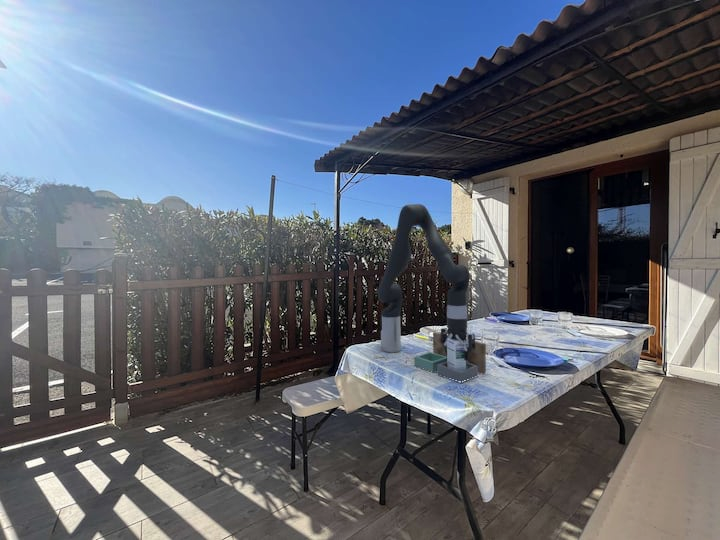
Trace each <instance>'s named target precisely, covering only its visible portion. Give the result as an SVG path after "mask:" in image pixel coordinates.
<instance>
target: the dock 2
mask: <svg viewBox="0 0 720 540" xmlns="http://www.w3.org/2000/svg"><path fill="white" fill-rule="evenodd" d="M437 374H438V375H437ZM436 375H437V376H439V375H441V376H440V377H442V376H445V377H448V378H451V379H454V380H457V381H461V382H462V381H464V380H467V379H470V378H472V377H475V376H477V375H478V376H479V373H478V366H477V365H474V364H470V363H468V368H467V369H465V370H462V371H458V370H455V369H452V368H449V367H447V361H446V362H443V363H441V364H438V365H437V371H436ZM478 376H477V377H478ZM445 377H444V378H445ZM475 378H476V377H475ZM472 379H473V378H472ZM470 380H471V379H470Z"/></svg>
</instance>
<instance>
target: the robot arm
mask: <svg viewBox="0 0 720 540" xmlns="http://www.w3.org/2000/svg"><path fill="white" fill-rule="evenodd" d="M417 226H418V227H420V229H421V230H422V231H423V232H424V234H425V236H426V244H427V248H428V251H429V252H430V254H431V256H432V257H433V259H434V260H435V261H436V262H437V263H436V264H437V265H438V267H439V270H440V274H441V275H442V277H443V279H444V280H445V281H446V282H447V283H449V284H451V285H452V286H451V288H450V289H449V290H448V292H447V300H446V301H447V308H446V327H444V328H441V329H440V333H441V341H440V342H441V343H443V344H444V345H445V353H446V355H447V339H456V340H458V341H459V343H460V344H461V346H463V348H464V350H465V351H464V360H465V361H467V360H469V359H470V351H471V350H474V349H475V341H476V336H475V333H468V331H467V330H468V308H467V292H468V290H469V289H468V287H469V284H470V283H469V282H470V271H469V268H468V267H467V266H466V265H463V264H456V263H455V262H454V258H455V255H454V253H453V251H452V249H450V247H449V246H448V244H447V242H445V239H443V238H442V236H441V233H440V232H439V230H438V229H437V226H436V224H435V222H434V220H433V218H432V216H431V214H430V212H429V209H428V208H426V206H425V205H423V204H422V203H421V204H419V203H417V204H416V203H415V204H414V203H413V204H406V205H403V206H402V208H401V210H400V211H399V215H398V222H397V226H396V232H395V236H394V241H393V243H392V244H393V245H392V247H391V250H390V254H389V257H388V261H387V264H386V268H385V271H384V274H383V276H382V279H381V281H380V284H379V287H378V290H377V299H378V301H379V302H380V303H382V304H383V303H384V304H389V305H388V306H387V307H386V308H384V309H382V310H381V330H380V348H381V350H382V351H383V352H385V353H397V352H401V350H402V343H401V342H402V341H401V339H402V338H401V337H402V336H401V313H402V300H403V299H402V297H403V294H402V288H401V286H400V284H399V283H394V282H395V280H396V279H397V278H398V277H399V276H400V275H401V274H402V273H403V272H404V271H406V269H407V267H408V265H409V263H410V260H411V256H412V248H411V246H410V239H409V238H410V233H411V231H412V228H413V227H417ZM447 335H449V337H448V338H447ZM467 339H468V340H467ZM464 340H466V342H465V343H464V342H463V341H464Z"/></svg>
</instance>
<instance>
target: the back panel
mask: <svg viewBox="0 0 720 540" xmlns="http://www.w3.org/2000/svg"><path fill="white" fill-rule="evenodd" d="M448 337H449V335H448V334H447V338H448ZM466 339H467V338H466ZM467 340H468V339H467ZM440 341H441V332H437V331H434V332H432V347H433V349H432V353H435V354H439V355H442V356H445V357H447V355H446V353H445V345H444V344H443V343H441V342H440ZM486 346H487V345H486V343H484V342H481V341H478V340H477V341H476V340H475V349H474V350H471V351H470V359H469V360H468V363H470V364H474V365H477V366H478V372H479V373H478V374H481V373H482V374H481V375H486V374H485V373H486V372H487V361H486V360H487V358H486V357H487V356H486V355H487V353H486V352H487V351H486V349H487V347H486Z"/></svg>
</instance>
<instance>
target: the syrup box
mask: <svg viewBox="0 0 720 540" xmlns="http://www.w3.org/2000/svg"><path fill="white" fill-rule="evenodd" d="M463 342H464V343H465V342H466V340H464V341H463ZM464 351H465V350H464V348H463V346H461V344H460V343H459V341H458V340H456V339H447V367H449V368H452V369H455V370H458V371H462V370H465V369H467V368H468V360H467V361H465V360H464Z"/></svg>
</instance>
